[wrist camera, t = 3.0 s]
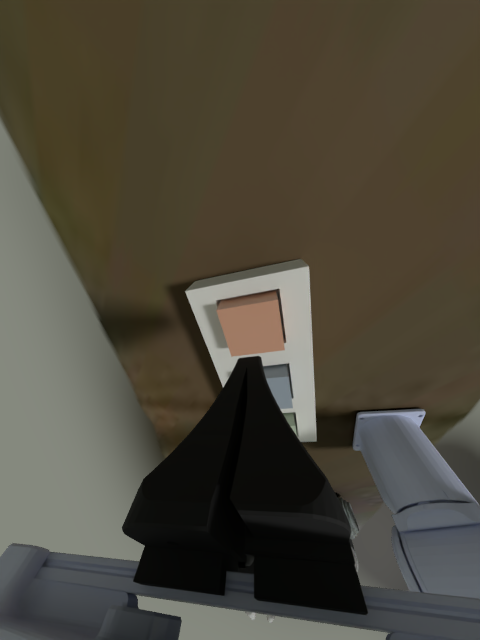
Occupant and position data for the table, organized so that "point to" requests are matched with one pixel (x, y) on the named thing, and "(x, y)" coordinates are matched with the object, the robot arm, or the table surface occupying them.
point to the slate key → (279, 384)
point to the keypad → (294, 321)
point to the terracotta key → (252, 323)
